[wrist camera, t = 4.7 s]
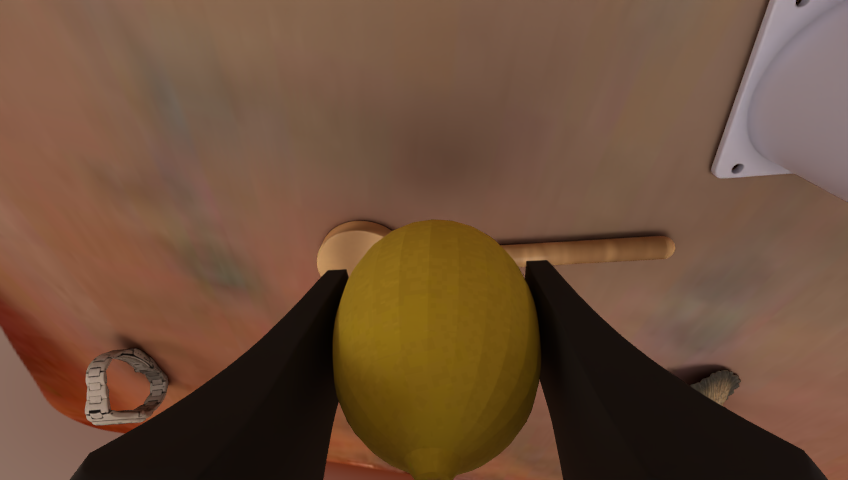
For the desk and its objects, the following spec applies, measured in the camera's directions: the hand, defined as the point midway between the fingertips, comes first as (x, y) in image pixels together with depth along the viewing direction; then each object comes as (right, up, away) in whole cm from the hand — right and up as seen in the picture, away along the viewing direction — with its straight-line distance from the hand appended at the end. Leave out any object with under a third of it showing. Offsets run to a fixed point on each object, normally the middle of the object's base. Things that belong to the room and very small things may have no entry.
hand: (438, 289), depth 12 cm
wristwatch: (-22, -8, +18) cm, 30 cm away
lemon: (0, +1, +2) cm, 3 cm away
